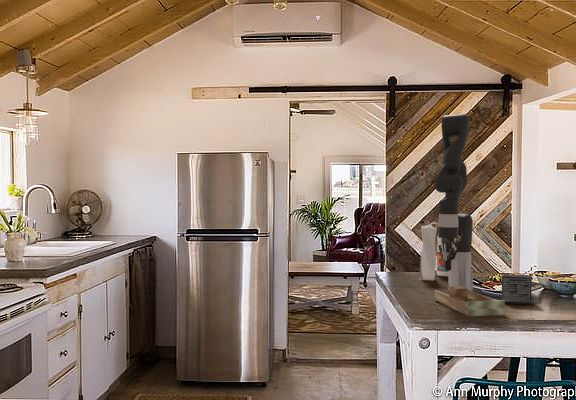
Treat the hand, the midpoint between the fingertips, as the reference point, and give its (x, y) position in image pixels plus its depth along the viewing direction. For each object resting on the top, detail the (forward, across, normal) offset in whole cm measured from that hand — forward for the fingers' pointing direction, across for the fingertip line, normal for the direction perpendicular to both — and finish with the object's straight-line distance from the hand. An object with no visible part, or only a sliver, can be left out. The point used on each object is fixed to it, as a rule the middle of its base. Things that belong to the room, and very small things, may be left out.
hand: (447, 270), depth 219 cm
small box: (+12, -5, -26) cm, 29 cm away
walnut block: (+10, -8, 0) cm, 13 cm away
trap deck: (+12, -10, -3) cm, 16 cm away
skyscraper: (+12, +52, -15) cm, 55 cm away
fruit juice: (+12, +62, -29) cm, 69 cm away
